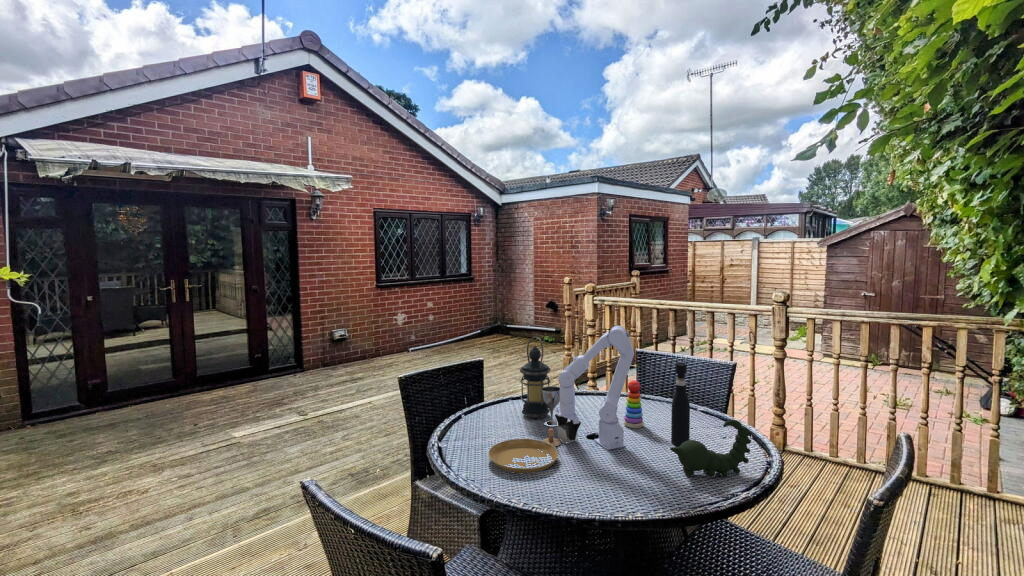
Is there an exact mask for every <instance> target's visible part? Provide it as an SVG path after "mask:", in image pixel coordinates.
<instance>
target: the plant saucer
mask: <svg viewBox="0 0 1024 576" xmlns="http://www.w3.org/2000/svg"><path fill="white" fill-rule="evenodd" d="M538 449H539V450H540V451H539V450H538ZM541 451H543V452H541ZM487 454H488V457H489V459H490V461H491V462H492V464H493V465H495V466H496V467H497V468H499V469H501V470H502V469H503V471H505V472H508V471H509V472H508V473H511V472H514V473H513V474H518V473H530V474H534V472H536V473H539V471H540V472H542V470H543V471H545V470H547V469H549V468H550V467H551V466H552V465H554V464H555V462H556V461H557V459H558V457H559V452H558V449H557V447H554V446H552V445H551V444H548V443H546V442H543V441H542V440H538V439H533V438H512V439H507V440H503V441H500V442H498V443H496V444H494V445H492V446H491V448H489V450H488V453H487ZM546 454H549V455H550V456H551V457H552V460H553V461H552V462H551V463H549V464H547V465H544V466H541V467H535V468H512V467H507V466H508V464H518V465H520V466H523V467H524V466H526V465H525V464H526V463H522V462H516V463H514V462H512V460H513V458H514V457H515V458H521V459H522V458H524V457H525V456H526V455H528V456H529V457H533V456H534V457H537V458H538V457H547V455H546ZM538 459H539V458H538ZM539 460H540V459H539ZM540 461H541V460H540ZM534 463H536V461H535V462H533V463H529V464H531V465H532V464H534ZM536 464H537V465H538V464H539V463H536ZM504 465H507V466H504Z"/></svg>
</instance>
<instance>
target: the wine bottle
mask: <svg viewBox="0 0 1024 576" xmlns="http://www.w3.org/2000/svg"><path fill="white" fill-rule="evenodd" d="M687 366H688V365H687V364H686V363H684V362H676V363H675V374H677V376H676V377H677V379H675V390H674V391H675V392H674V395H673V397H672V401H671V424H670V425H671V426H670V427H671V428H670V430H671V432H670V433H671V434H670V435H671V436H670V437H671V438H670V441H671V442H670V443H671V445H673V446H674V447H680V445H681V444H682V443H684V442H685V441H688V440H691V439H690V436H691V435H690V429H691V428H690V425H691V423H690V422H691V421H690V419H691V414H690V413H691V412H690V411H691V405H690V400H689V399H690V398H689V396H688V394H687V384H686V378H685V376H686V374H687V372H688V371H687V370H688V369H687Z"/></svg>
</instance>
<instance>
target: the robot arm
mask: <svg viewBox="0 0 1024 576" xmlns="http://www.w3.org/2000/svg"><path fill="white" fill-rule="evenodd" d="M612 346H613V347H614V348H615V349H616V350H617V352H618V354H619V358H618V362H617V364H616V367H615V370H614V374H613V375H612V380H611V383H610V384H609V389H608V391H607V393H606V396H605V398H604V399H603V400H602V401H601V403H600V408H599V409H600V410H599V411H598V416H599V417H598V438H594V439H593V440H594V442H595V443H597V444H599V445H600V446H601V447H603V448H604V449H606V450H608V451H609V450H613V449H619V448H623V447H626V444H625V443H624V440H625V439H624V438H625V435H624V432H625V431H624V428H623V426H621V424H620V422H619V417H618V415H617V413H618V412H617V411H618V409H619V408H618V407H619V406H618V404H619V401H620V397H621V396H622V395H621V394H622V392H623V387H624V385H625V383H626V379H627V377H628V373H629V371H630V368H631V364H632V362H633V358H634V357H635V354H634V353H635V351H634V347H633V344H632V341H631V337H630V334H629V332H628V331H627V329H626V328H625V327H624V326H622V325H613V326H612V327H611V328H610V330H608V331H606V332H605V333H604V334H603V335H601V336H600V337H599V338H598V340H596V341H595V343H593V345H592V346H591V347H590V348H589V349H588V350H587V351H586V352H585V353H584V354H583V355H577V356H574V357H573V358H572V360H573V361H571V362H570V363H569V364H568V366H567V365H566V366H565V367H564V369H563V370H562V371H561V373H560V374H559V376H558V383H559V387H560V402H559V406H556V414H554V418H555V419H556V422H558V425H564V424H566V425H567V428H568V433H569V439H570V440H575V438H576V434H577V435H578V430H579V428H580V426H582V422H581V421H580V418H579V417H578V415H577V413H576V398H575V397H576V395H575V394H576V389H575V381H576V379H579V377H581V376H582V375H583V373H585V371H586V370H588V369H589V368H590V361H592V359H594V358H595V357H596V356H597V355H598V354H600V353H601V352H602V350H604V349H606V348H611V347H612ZM568 420H570V421H568Z"/></svg>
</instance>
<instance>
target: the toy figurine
mask: <svg viewBox="0 0 1024 576" xmlns="http://www.w3.org/2000/svg"><path fill="white" fill-rule="evenodd" d="M728 426H729V427H733V428H734V429H735V430H737V434H736V435H735V437H734V440H735V441H734V442H733V443H732V447H731V449H730V450H729V452H727V453H721V452H720V453H719V452H718V453H717V452H715V450H710V449H708V448H707V447H706V445H705V444H704V443H702V442H700V441H698V440H693V439H690V440H688V441H685V442H684V443H682V444H681V445H680V447H678V446H674V447H670V448H669V450H670V451H672V452H673V453H674V454H676V455H677V458H678V461H679V462H680V464H681V465H682V466H683V467H682V472H684V474H685V475H686V476H688V477H692V476H694V475H695V472H700V471H704V472H706V475H707V476H708V477H710V478H714V477H715V476H716V473H717V474H720V475H721V477H722V478H724V479H727V478H728V476H729V471H733V474H736V475H738V474H740V472H741V469H740V468H739V464H741V463H742V462H743V463H744V464H748V463H749V461H750V460H749V458H748V457H746V455H745V454H750V452H751V448H748V446H747V445H749V444H751V443H752V439H750V438H749V436H752V431H750V430H749V428H748V427H746V426H743V425H742V423H741V422H740V421H739V420H736V419H728V420H727V421H725V422H724V423H723V425H722V427H723V428H726V427H728Z"/></svg>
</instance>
